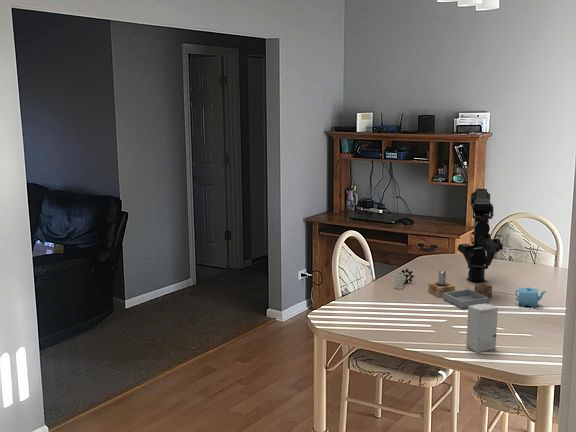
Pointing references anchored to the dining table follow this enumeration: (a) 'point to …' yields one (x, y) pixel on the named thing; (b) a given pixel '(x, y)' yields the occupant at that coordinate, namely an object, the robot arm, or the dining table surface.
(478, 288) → the walnut block
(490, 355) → the dining table surface
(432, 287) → the oak block
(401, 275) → the valve
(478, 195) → the robot arm
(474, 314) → the skincare box
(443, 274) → the gauge pin
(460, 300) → the tray
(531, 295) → the teapot
